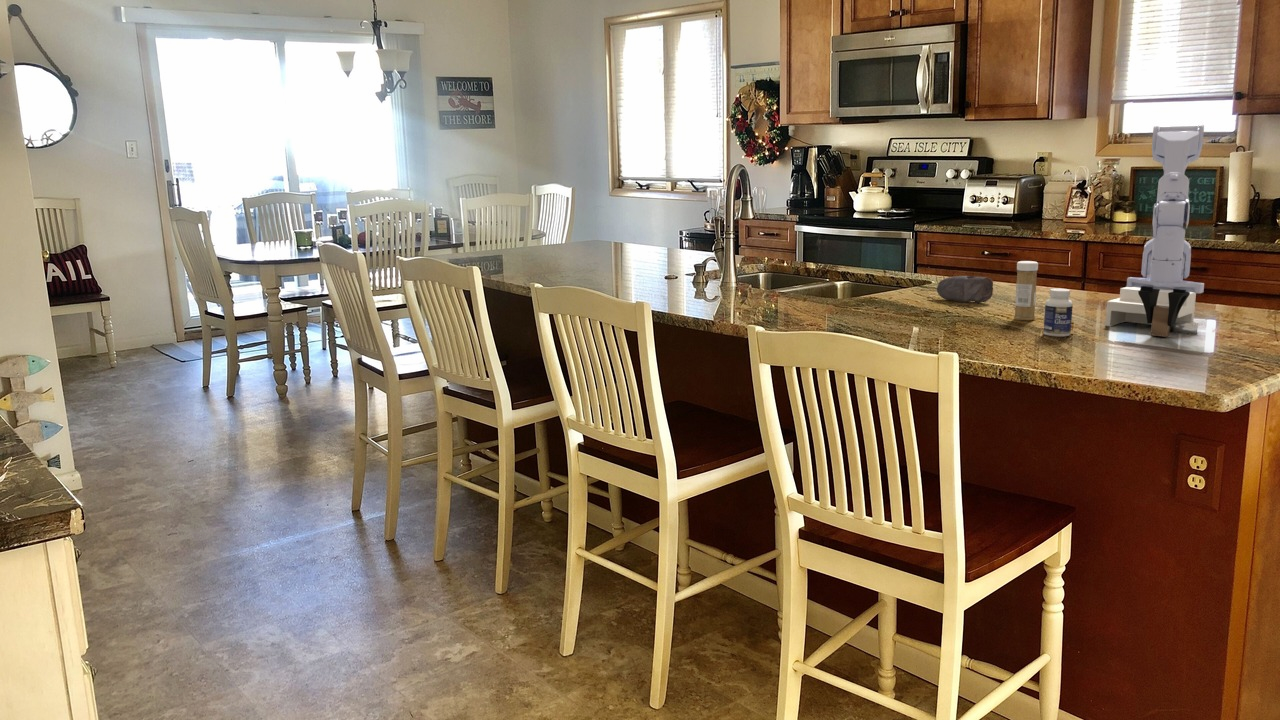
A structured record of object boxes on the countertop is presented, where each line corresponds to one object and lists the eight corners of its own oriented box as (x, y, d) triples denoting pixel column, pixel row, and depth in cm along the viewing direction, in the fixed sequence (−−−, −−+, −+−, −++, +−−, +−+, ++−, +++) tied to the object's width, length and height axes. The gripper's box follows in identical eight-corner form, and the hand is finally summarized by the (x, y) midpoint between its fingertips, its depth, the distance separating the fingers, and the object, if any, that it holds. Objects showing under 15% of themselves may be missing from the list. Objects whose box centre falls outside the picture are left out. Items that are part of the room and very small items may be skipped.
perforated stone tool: (931, 300, 265) (932, 273, 264) (942, 297, 268) (943, 271, 267) (983, 306, 254) (984, 278, 252) (994, 303, 257) (995, 276, 256)
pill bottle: (1054, 337, 213) (1057, 292, 211) (1037, 333, 218) (1040, 288, 216) (1076, 336, 214) (1079, 290, 212) (1059, 331, 219) (1062, 287, 217)
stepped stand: (1122, 320, 231) (1125, 285, 229) (1192, 328, 220) (1196, 291, 218) (1105, 325, 225) (1108, 290, 223) (1176, 334, 214) (1180, 296, 212)
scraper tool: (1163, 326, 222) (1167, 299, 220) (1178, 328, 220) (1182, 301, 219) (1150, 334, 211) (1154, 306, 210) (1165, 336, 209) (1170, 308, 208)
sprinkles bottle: (1038, 319, 234) (1042, 261, 231) (1026, 321, 231) (1030, 263, 229) (1021, 316, 238) (1025, 259, 235) (1009, 319, 235) (1012, 261, 232)
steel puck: (1175, 329, 220) (1176, 320, 219) (1200, 332, 216) (1201, 322, 216) (1167, 332, 216) (1167, 323, 216) (1192, 335, 213) (1193, 326, 212)
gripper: (1122, 258, 211) (1117, 322, 213) (1197, 263, 200) (1190, 331, 203) (1136, 255, 215) (1131, 318, 218) (1210, 260, 205) (1203, 326, 208)
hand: (1160, 324), depth 211 cm, fingers closed on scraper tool, 3 cm apart
